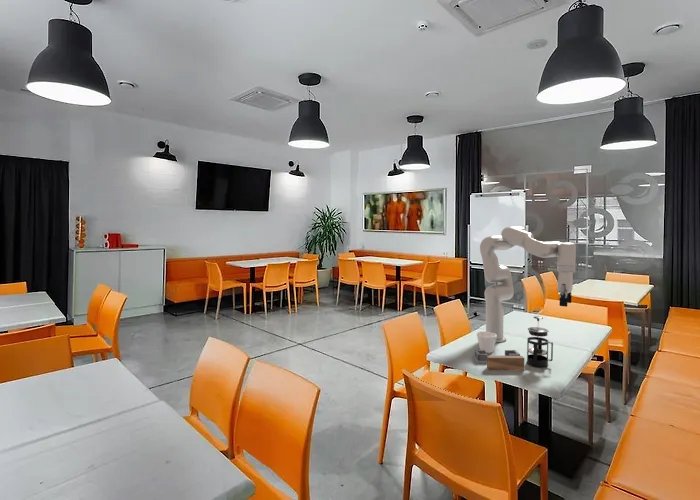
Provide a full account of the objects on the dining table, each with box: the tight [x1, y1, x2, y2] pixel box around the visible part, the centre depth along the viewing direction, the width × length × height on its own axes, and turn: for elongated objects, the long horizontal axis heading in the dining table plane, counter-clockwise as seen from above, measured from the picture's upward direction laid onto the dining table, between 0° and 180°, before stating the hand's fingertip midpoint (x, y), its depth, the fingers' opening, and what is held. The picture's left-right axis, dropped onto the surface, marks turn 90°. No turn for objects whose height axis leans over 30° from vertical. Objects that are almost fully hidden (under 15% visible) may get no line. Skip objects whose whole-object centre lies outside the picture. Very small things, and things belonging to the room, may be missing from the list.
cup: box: [476, 331, 497, 354], centre depth 203 cm, size 10×10×9 cm
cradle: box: [472, 349, 521, 364], centre depth 191 cm, size 8×21×4 cm, turn 88°
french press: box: [526, 315, 554, 369], centre depth 183 cm, size 12×9×23 cm
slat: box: [486, 355, 525, 371], centre depth 179 cm, size 3×16×6 cm, turn 87°
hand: (565, 304), depth 185 cm, fingers open, 9 cm apart
